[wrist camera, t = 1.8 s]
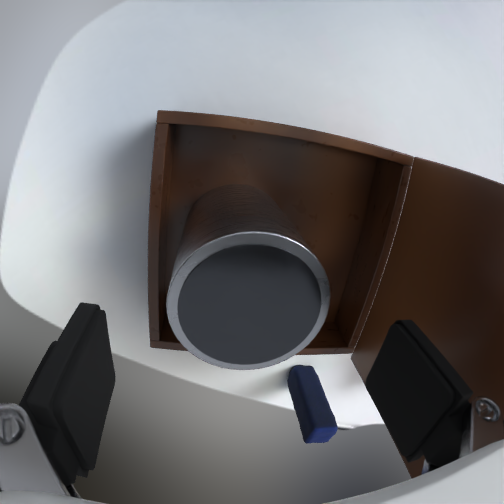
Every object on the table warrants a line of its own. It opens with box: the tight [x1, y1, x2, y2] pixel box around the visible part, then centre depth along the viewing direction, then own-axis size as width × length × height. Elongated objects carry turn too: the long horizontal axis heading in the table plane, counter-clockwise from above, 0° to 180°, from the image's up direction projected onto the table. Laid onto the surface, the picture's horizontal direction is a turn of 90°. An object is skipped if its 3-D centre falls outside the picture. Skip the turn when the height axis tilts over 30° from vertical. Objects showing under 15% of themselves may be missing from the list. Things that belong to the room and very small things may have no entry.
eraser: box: [287, 365, 337, 443], centre depth 21 cm, size 2×2×7 cm
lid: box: [351, 157, 504, 478], centre depth 10 cm, size 14×13×5 cm
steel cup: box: [166, 184, 331, 370], centre depth 14 cm, size 6×6×8 cm
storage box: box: [148, 110, 414, 355], centre depth 17 cm, size 13×13×4 cm
